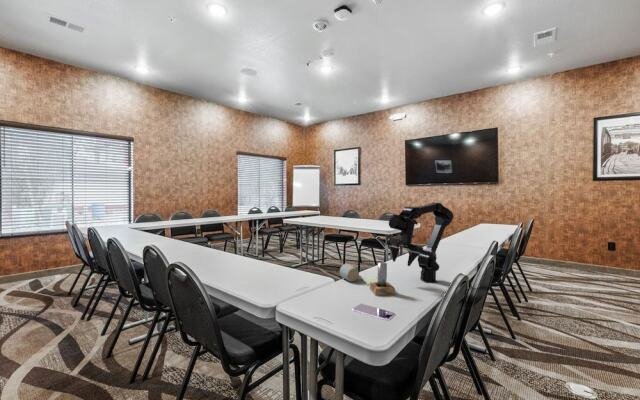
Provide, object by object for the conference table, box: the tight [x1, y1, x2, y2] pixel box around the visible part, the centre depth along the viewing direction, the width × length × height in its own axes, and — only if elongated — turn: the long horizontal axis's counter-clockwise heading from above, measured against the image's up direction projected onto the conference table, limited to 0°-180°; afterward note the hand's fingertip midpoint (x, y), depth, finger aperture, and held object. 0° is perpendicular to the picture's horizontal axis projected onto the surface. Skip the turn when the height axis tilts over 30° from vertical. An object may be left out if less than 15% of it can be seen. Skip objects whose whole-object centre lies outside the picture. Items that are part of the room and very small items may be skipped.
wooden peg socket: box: [369, 281, 396, 296], centre depth 132 cm, size 9×9×3 cm
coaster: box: [361, 277, 378, 286], centre depth 147 cm, size 10×10×1 cm
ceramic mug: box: [339, 263, 363, 283], centre depth 150 cm, size 11×8×8 cm
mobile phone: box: [351, 303, 396, 322], centre depth 109 cm, size 8×1×15 cm
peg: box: [377, 261, 388, 287], centre depth 132 cm, size 4×4×13 cm
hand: (400, 263), depth 140 cm, fingers open, 9 cm apart
